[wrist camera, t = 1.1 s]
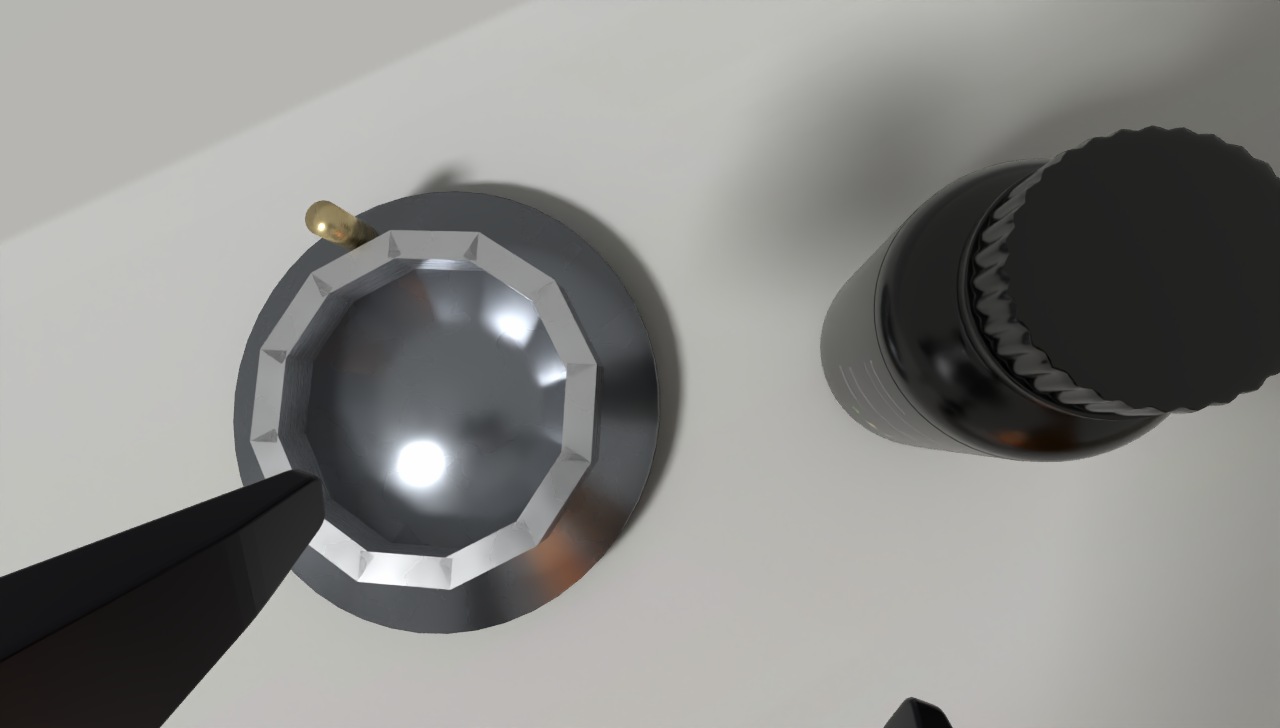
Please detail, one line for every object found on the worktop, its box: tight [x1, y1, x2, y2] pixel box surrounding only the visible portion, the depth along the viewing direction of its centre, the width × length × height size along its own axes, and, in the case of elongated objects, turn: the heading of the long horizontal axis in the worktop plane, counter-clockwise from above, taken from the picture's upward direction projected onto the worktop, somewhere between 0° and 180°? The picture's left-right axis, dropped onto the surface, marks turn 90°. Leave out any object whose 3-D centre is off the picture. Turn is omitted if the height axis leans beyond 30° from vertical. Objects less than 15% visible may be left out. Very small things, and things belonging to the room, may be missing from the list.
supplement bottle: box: [820, 126, 1280, 462], centre depth 16 cm, size 7×7×12 cm
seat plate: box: [233, 192, 660, 634], centre depth 21 cm, size 16×16×4 cm
